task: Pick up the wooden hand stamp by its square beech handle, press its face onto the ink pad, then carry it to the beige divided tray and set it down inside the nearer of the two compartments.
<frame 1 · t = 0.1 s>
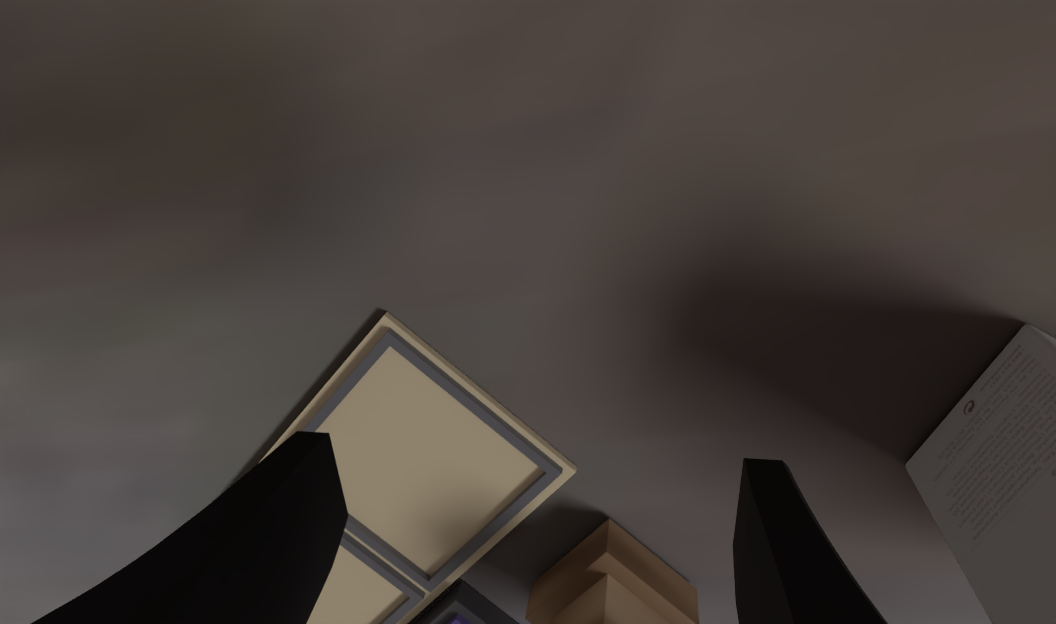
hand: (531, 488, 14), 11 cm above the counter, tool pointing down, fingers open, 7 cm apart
stamp: (613, 580, 27), on the counter
beige divided tray: (353, 524, 28), on the counter
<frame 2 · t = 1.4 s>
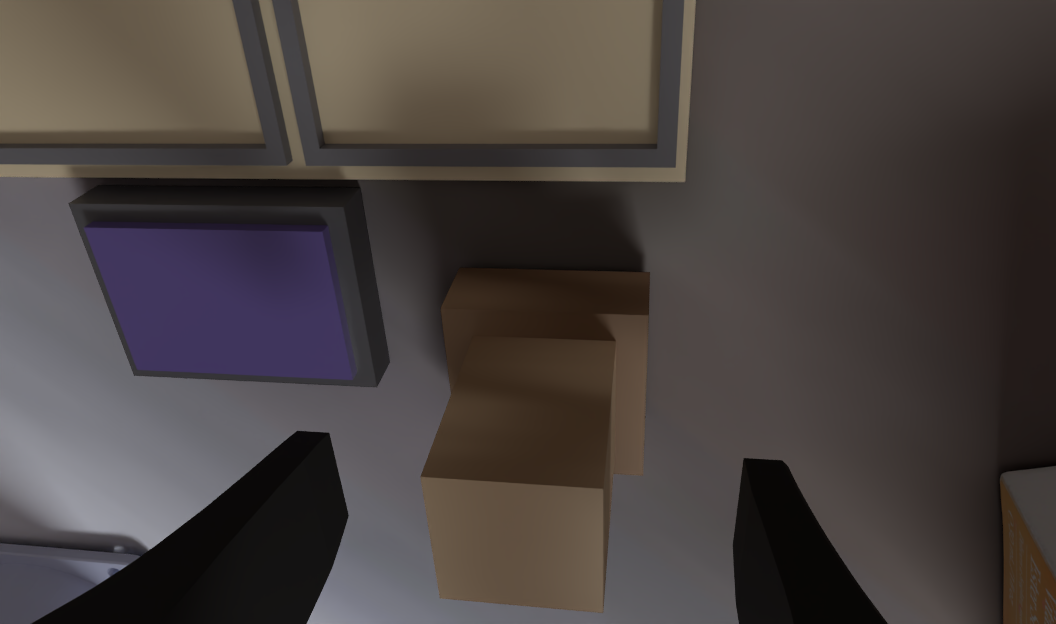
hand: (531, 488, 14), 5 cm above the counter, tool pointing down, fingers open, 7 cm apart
ink pad: (249, 277, 18), on the counter
stamp: (557, 342, 18), on the counter
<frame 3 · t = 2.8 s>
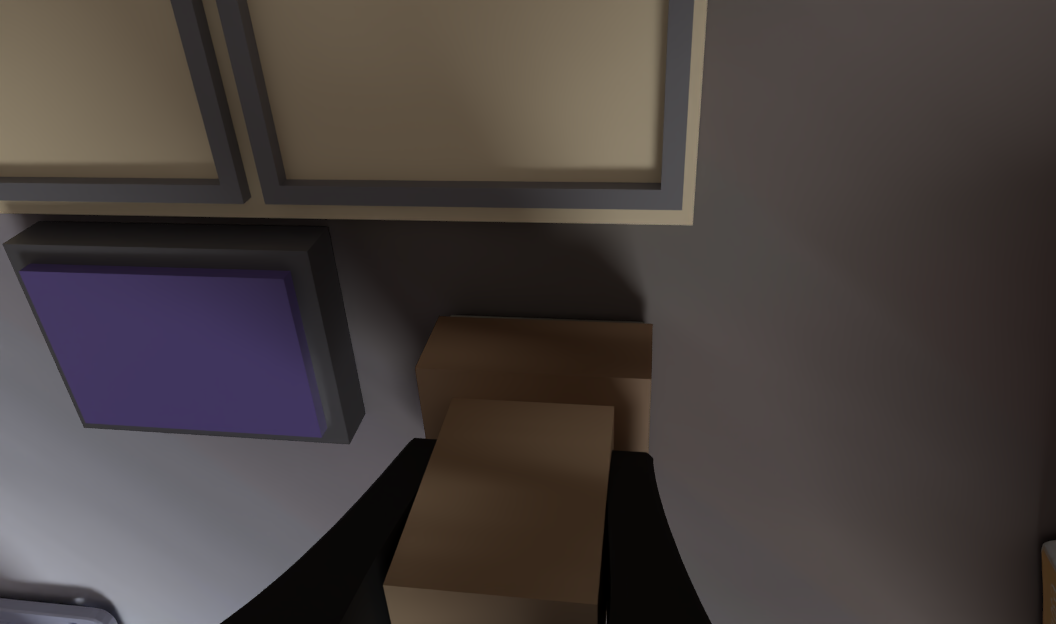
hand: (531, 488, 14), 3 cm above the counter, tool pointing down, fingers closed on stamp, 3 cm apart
ink pad: (209, 321, 16), on the counter
stamp: (549, 395, 16), on the counter, touching gripper
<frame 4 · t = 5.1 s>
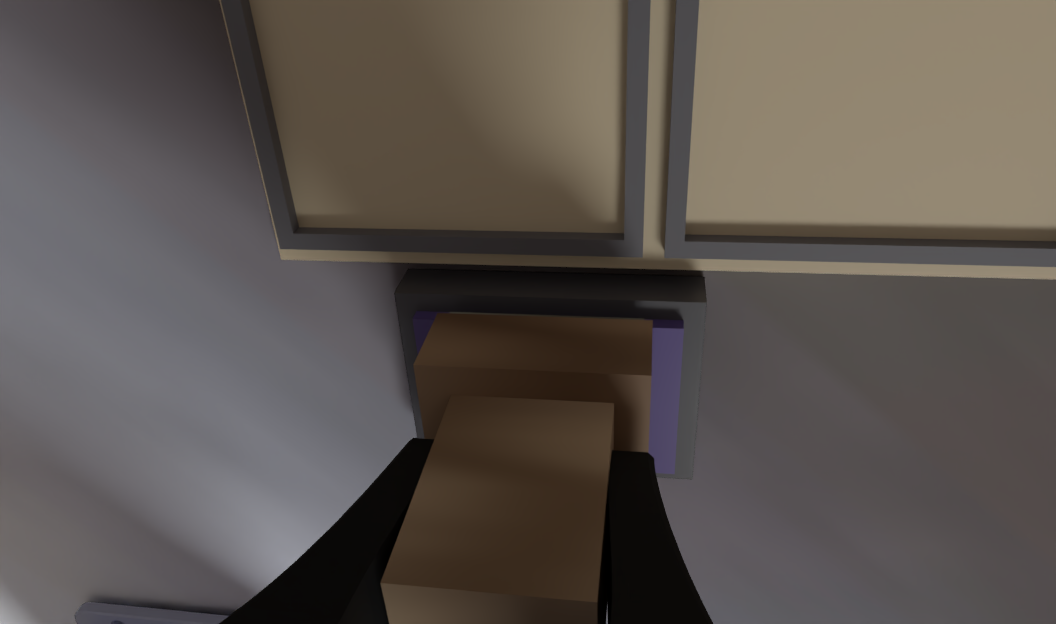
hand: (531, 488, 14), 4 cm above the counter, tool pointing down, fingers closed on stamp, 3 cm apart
ink pad: (555, 362, 17), on the counter
stamp: (548, 393, 16), point 1 cm above the counter, touching gripper, ink pad
beige divided tray: (661, 51, 13), on the counter
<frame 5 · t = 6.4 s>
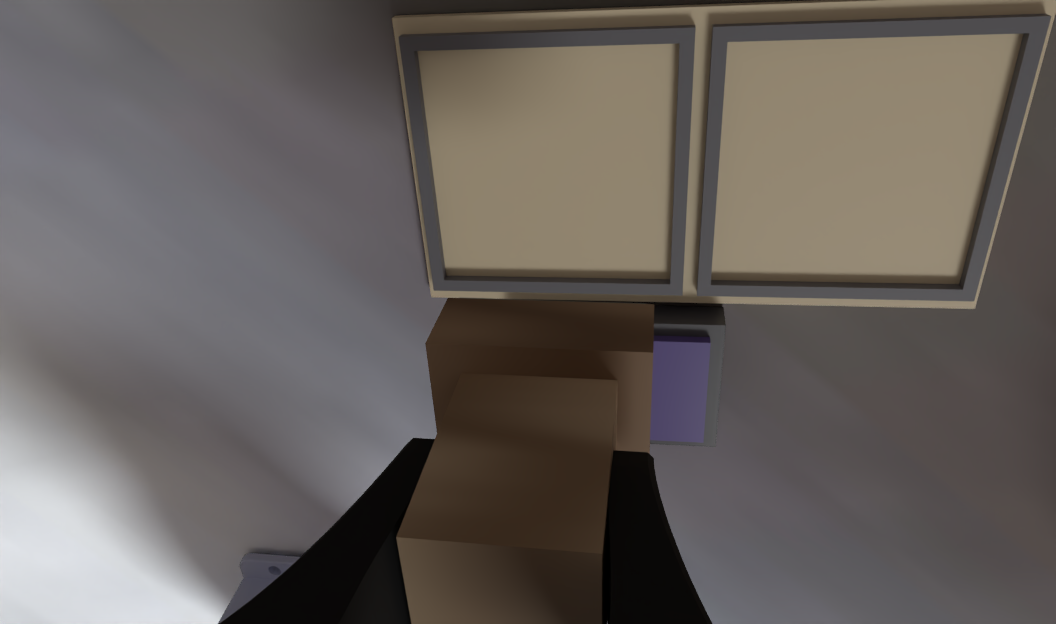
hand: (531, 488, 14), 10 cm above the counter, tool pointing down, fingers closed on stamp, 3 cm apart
ink pad: (618, 366, 24), on the counter
stamp: (554, 378, 16), point 7 cm above the counter, touching gripper
beige divided tray: (695, 165, 20), on the counter
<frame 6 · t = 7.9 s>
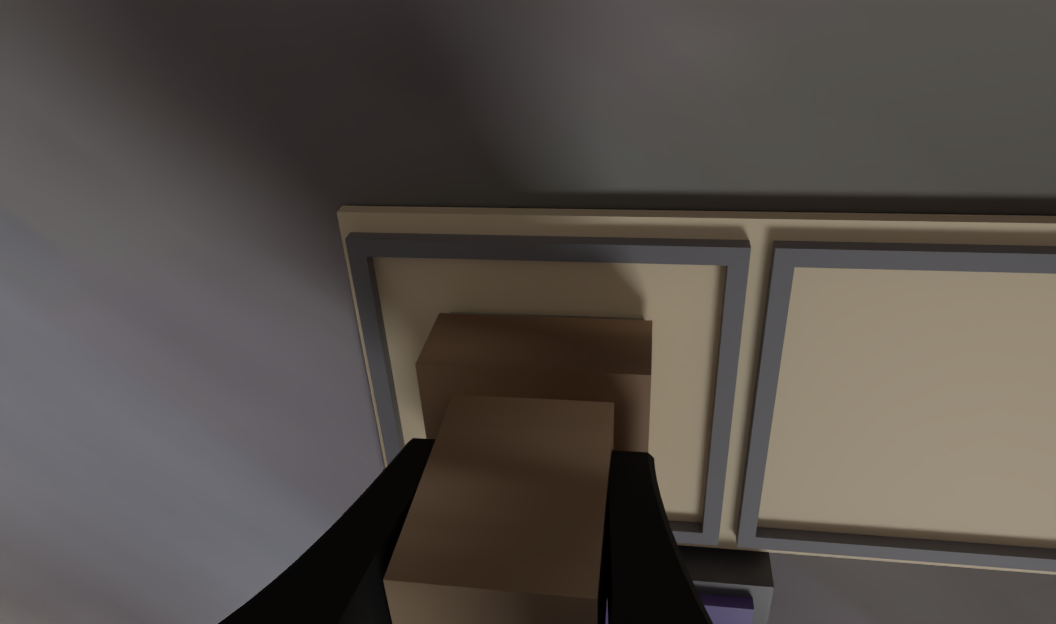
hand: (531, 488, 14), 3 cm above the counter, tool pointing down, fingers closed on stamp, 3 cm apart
ink pad: (632, 603, 19), on the counter
stamp: (549, 392, 16), resting on beige divided tray, touching gripper
beige divided tray: (740, 396, 15), on the counter
when the fingers open (3 cm above the counter, at t = 9.0 s): stamp stays where it is, resting on beige divided tray.
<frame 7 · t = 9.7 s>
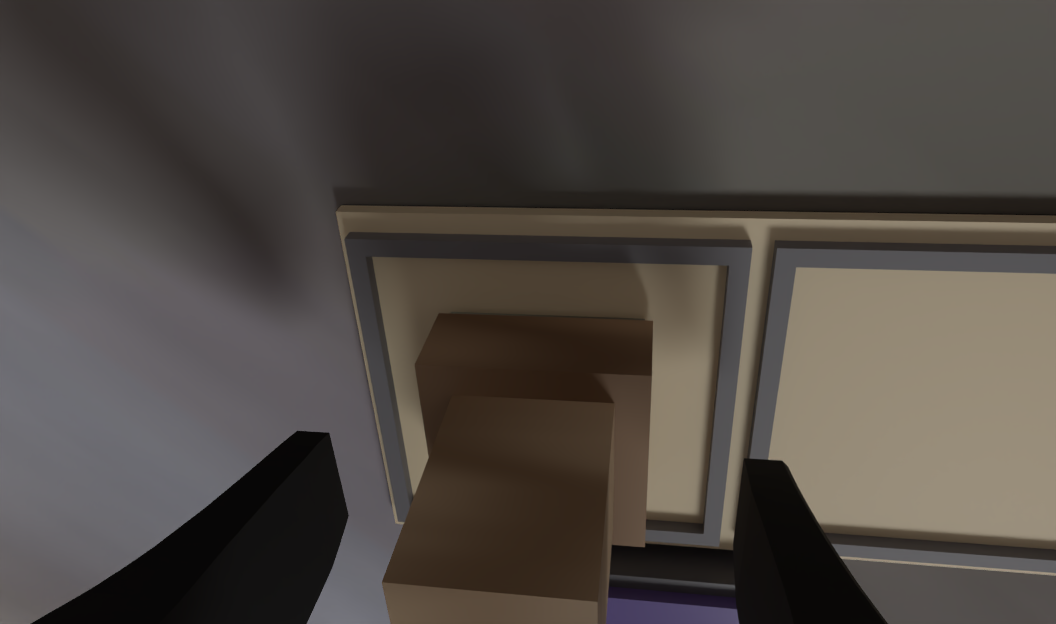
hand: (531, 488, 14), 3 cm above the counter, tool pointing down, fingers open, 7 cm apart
ink pad: (633, 604, 19), on the counter
stamp: (549, 393, 16), resting on beige divided tray
beige divided tray: (741, 397, 15), on the counter
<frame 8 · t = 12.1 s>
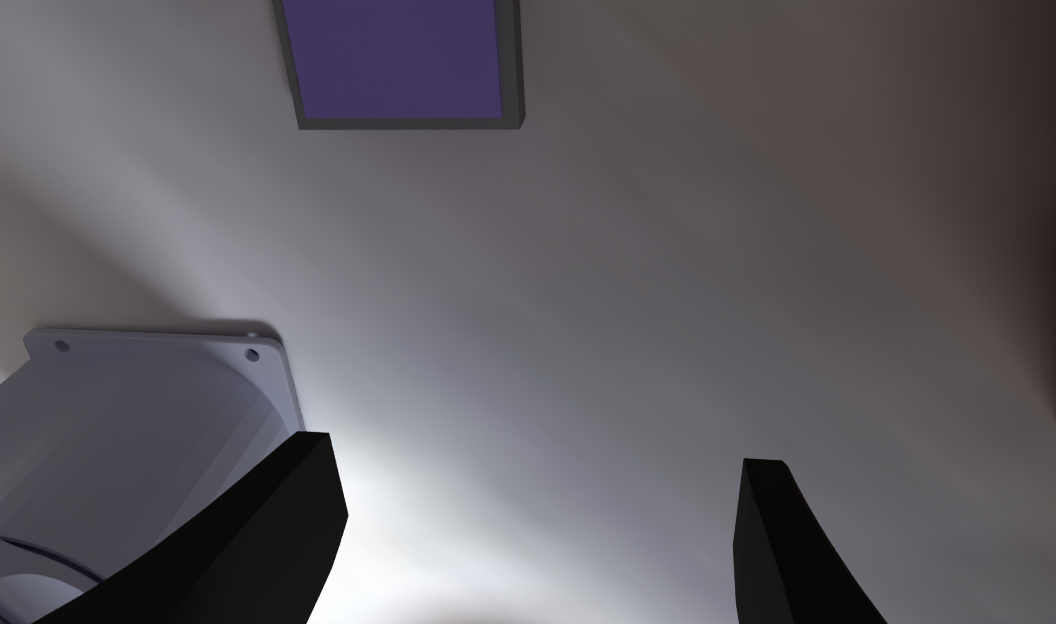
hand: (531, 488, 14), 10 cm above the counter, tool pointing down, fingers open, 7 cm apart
ink pad: (406, 34, 20), on the counter
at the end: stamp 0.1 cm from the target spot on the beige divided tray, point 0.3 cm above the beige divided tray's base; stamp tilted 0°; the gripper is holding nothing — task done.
